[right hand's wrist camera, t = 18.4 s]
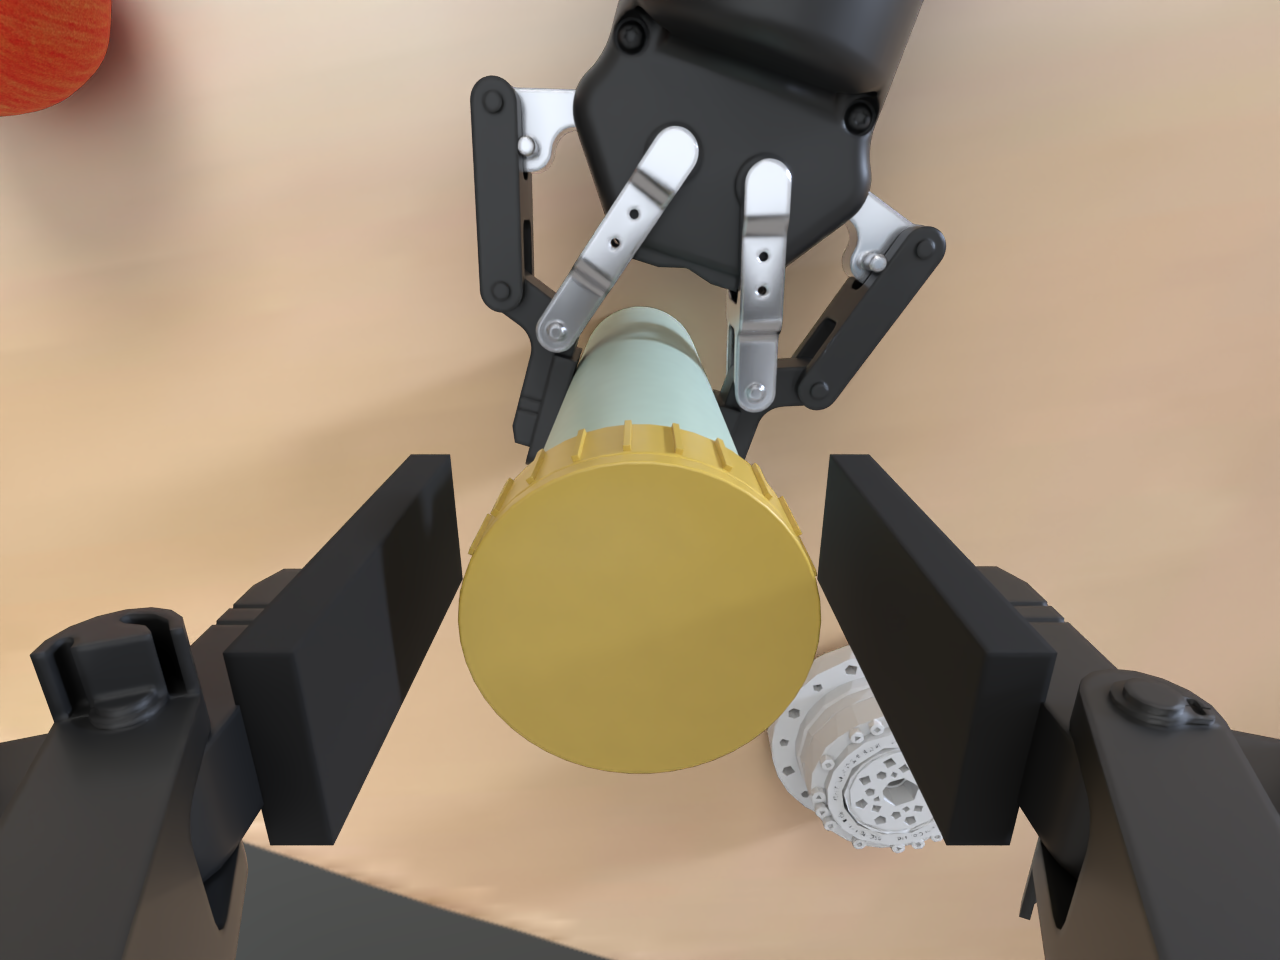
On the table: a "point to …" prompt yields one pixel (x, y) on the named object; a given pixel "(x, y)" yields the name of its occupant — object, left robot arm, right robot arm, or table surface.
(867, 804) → the mechanical component
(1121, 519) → the table surface
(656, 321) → the jar
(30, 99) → the apple
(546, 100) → the left robot arm
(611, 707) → the lid
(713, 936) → the table surface
